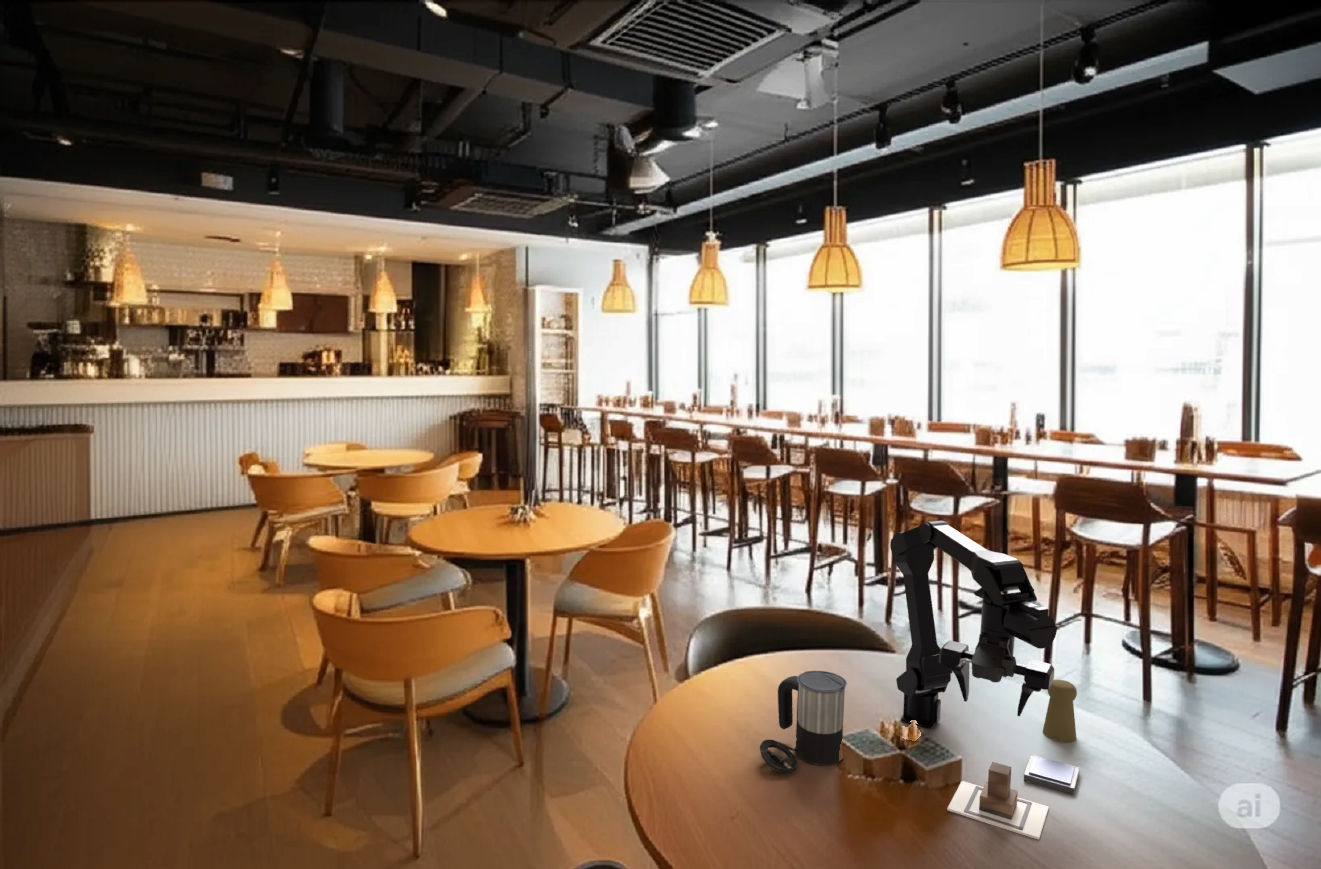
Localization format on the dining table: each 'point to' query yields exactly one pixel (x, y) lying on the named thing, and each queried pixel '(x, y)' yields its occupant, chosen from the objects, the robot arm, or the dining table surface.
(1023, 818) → the print card
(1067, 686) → the cork
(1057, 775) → the ink pad
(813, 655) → the dining table surface
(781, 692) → the milk frother
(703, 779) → the dining table surface
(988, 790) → the stamp
